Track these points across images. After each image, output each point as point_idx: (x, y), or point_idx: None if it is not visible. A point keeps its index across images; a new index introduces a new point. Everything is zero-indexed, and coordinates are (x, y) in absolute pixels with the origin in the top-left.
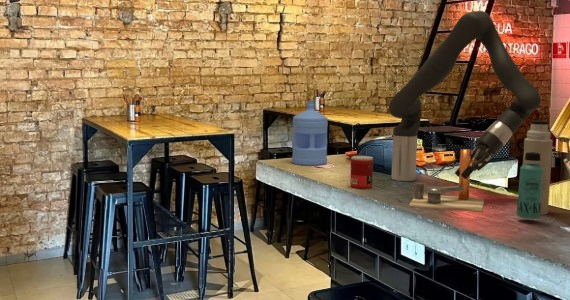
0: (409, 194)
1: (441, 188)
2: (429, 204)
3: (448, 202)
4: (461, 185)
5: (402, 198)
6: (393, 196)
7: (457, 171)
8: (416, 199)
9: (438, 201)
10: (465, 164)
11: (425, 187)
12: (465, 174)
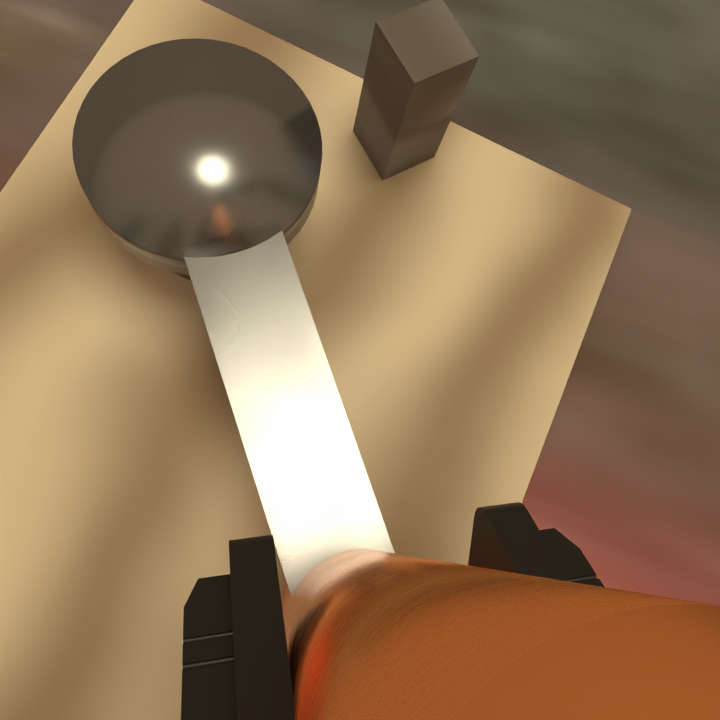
0: (670, 171)
1: (187, 225)
2: None
3: (184, 366)
4: (313, 568)
5: (486, 50)
6: (571, 9)
7: (497, 543)
8: (354, 108)
9: None
10: (308, 679)
11: (270, 61)
12: (192, 607)
